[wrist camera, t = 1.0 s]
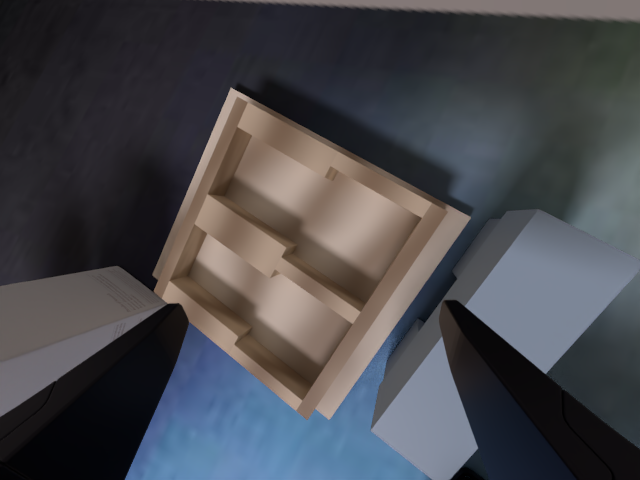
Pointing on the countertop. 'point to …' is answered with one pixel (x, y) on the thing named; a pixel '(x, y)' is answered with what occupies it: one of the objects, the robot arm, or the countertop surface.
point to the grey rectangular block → (496, 327)
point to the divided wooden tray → (298, 253)
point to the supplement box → (63, 325)
